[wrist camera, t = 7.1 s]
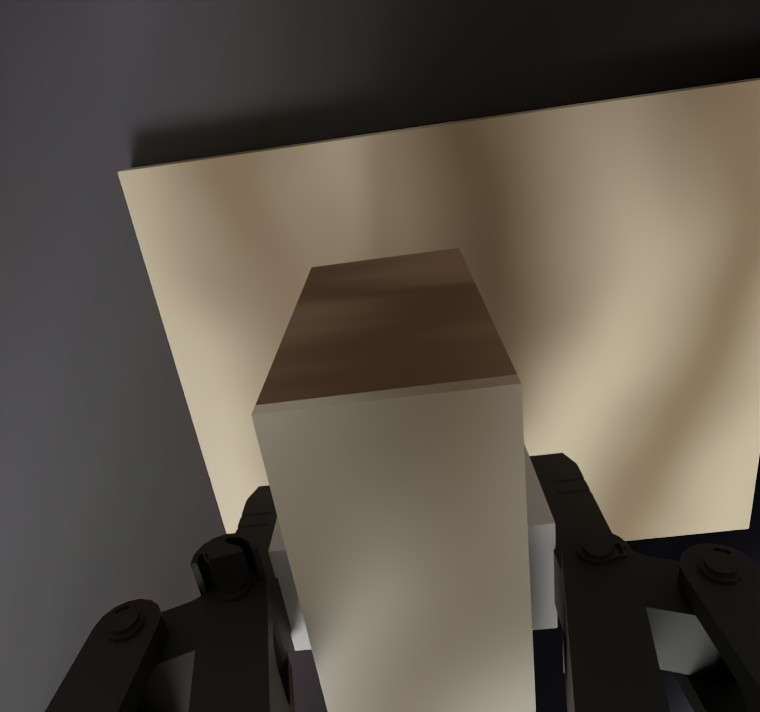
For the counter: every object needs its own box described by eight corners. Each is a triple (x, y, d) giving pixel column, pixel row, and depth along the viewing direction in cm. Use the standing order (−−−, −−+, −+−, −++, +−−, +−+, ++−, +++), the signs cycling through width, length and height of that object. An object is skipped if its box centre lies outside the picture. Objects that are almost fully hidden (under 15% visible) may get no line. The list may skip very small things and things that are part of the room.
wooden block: (364, 551, 20) (353, 812, 13) (311, 267, 16) (251, 415, 9) (483, 539, 20) (539, 799, 13) (459, 247, 16) (521, 383, 9)
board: (245, 561, 25) (240, 579, 24) (130, 167, 19) (117, 172, 18) (735, 511, 24) (748, 528, 23) (792, 73, 17) (815, 71, 16)
